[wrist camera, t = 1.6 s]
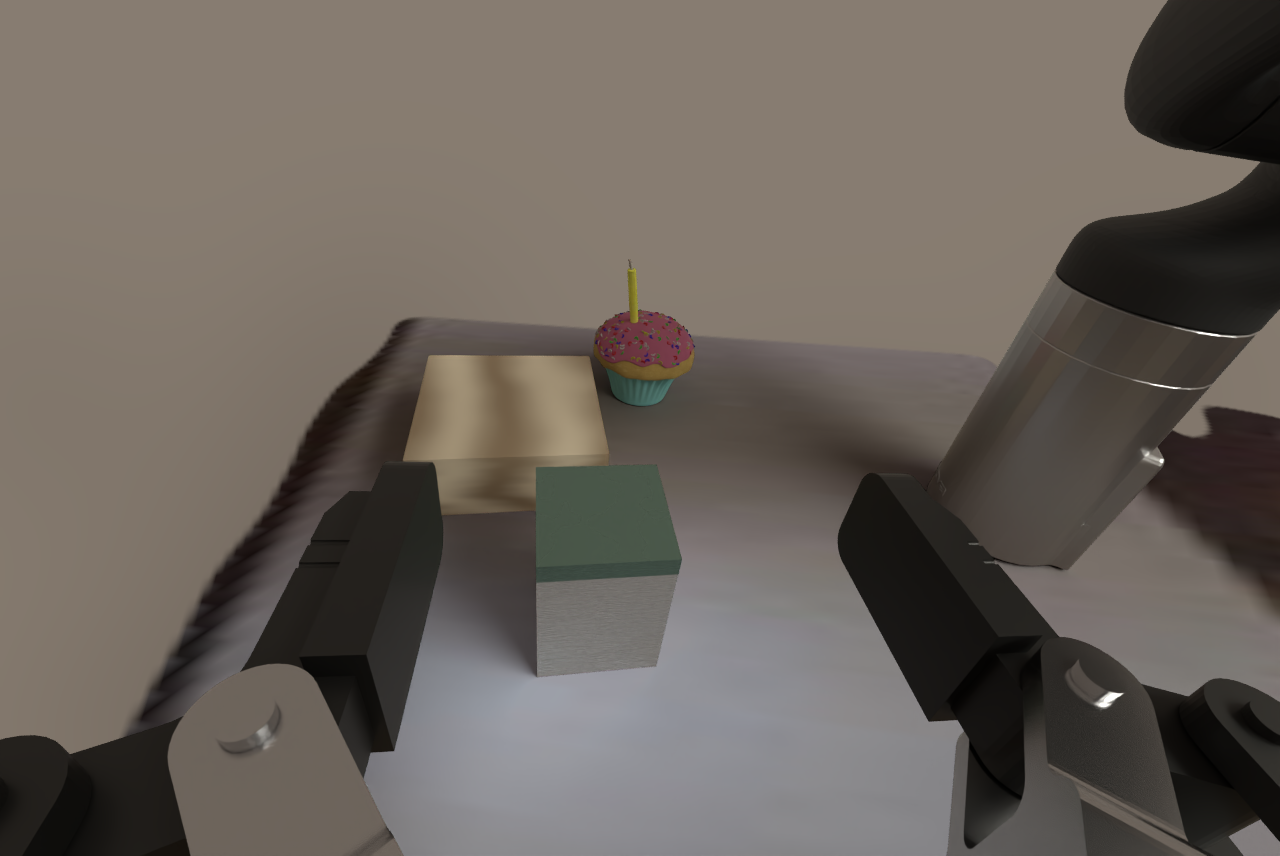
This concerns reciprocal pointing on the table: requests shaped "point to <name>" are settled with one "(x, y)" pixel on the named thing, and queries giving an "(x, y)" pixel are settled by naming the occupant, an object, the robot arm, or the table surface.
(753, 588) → the table surface
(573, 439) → the birch box
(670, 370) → the cupcake
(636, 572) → the tea tin
